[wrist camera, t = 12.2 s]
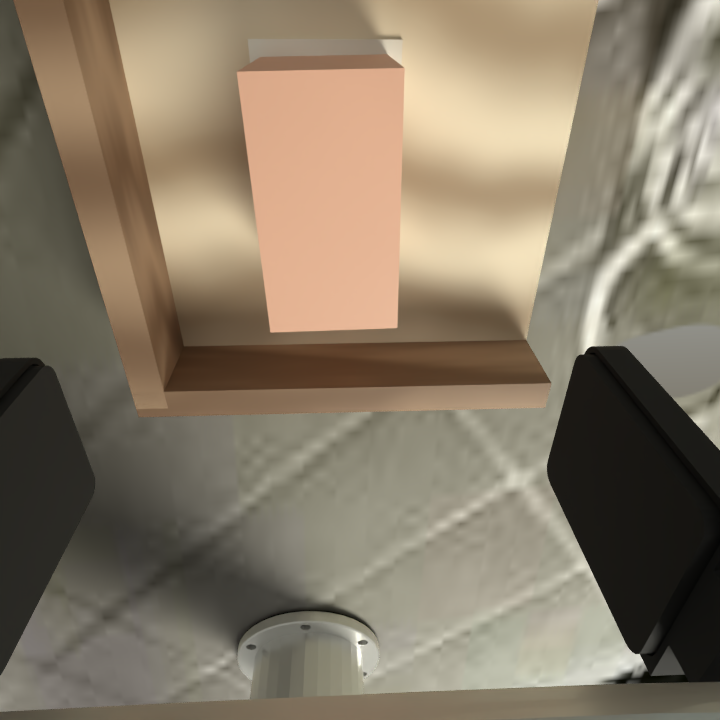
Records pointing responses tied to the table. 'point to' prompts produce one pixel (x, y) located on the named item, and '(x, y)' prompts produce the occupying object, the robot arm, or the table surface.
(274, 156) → the terracotta block
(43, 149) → the table surface
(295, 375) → the corner arena
